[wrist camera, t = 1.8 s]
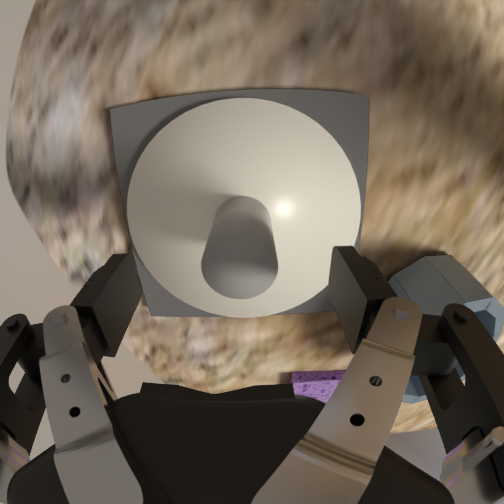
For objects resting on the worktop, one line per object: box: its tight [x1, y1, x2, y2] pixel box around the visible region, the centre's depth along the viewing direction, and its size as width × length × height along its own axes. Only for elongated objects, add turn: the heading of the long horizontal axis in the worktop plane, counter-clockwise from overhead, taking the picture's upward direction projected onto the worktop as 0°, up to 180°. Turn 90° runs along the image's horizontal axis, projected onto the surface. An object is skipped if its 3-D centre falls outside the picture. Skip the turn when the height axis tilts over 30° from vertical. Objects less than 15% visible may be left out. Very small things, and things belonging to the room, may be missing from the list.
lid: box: [127, 98, 361, 318], centre depth 14 cm, size 14×14×6 cm
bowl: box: [388, 255, 504, 404], centre depth 19 cm, size 11×11×6 cm
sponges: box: [290, 370, 346, 403], centre depth 27 cm, size 7×13×2 cm, turn 87°
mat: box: [110, 89, 369, 317], centre depth 17 cm, size 15×15×1 cm
